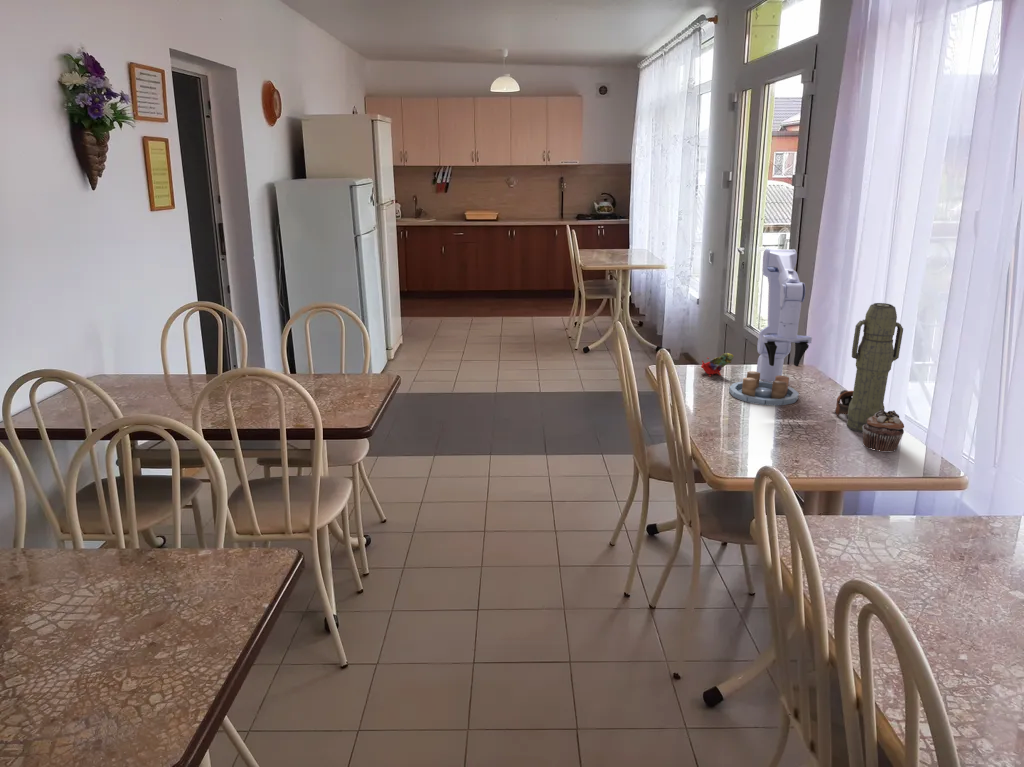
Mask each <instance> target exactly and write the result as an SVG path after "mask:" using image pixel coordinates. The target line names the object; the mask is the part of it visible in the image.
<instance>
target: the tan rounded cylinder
mask: <svg viewBox="0 0 1024 767" xmlns="http://www.w3.org/2000/svg"><path fill="white" fill-rule="evenodd" d="M746 378H754V379H756V380H757V382H756V388H758V387H759V381H761V379H760V373H759V372H757V371H753V370H750V371H747V372H746Z"/></svg>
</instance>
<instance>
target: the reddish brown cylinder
mask: <svg viewBox="0 0 1024 767" xmlns="http://www.w3.org/2000/svg"><path fill="white" fill-rule="evenodd" d="M775 381H783V382H786V383H787V384H786V392H785V396H787V391H788V387H789V381H790V377H789V376H786V375H782V376H776V377H775Z"/></svg>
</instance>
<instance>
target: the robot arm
mask: <svg viewBox="0 0 1024 767" xmlns="http://www.w3.org/2000/svg"><path fill="white" fill-rule="evenodd" d="M797 259H798V253H797V251H796V249H795V248H792V249H790V248H789V249H786V248H785V249H784V248H781V249H779V248H768V247H767V248H765V250H764V252H763V255H762V274H763V276H764V277H766V278H767V283H768V292H767V293H768V295H767V296H768V297H767V298H768V299H767V300H768V301H767V326H765V327H764V328H763V329H761V330H760V331H759V333H758V336H757V337H758V339H757V343H756V344H757V346H756V347H757V348H756V349H757V350H756V351H757V353H758V354H759V356H758V358H757V365H756V372H759V373H760V381H765V382H772V383H773V381H775V377H776V376H783V370H784V369H783V368H784V361H785V358H787V356H789V354H790V353H791V350H792V343H795V344H794V358H793V365H794V366H795V367H799V365H800V362H801V360H802V358H803V356H804V354H805V353H806V351H807V350H808V349H809V347H810V346H809V344H812V340H813V337H812V336H811V335H801V334H798V333H799V327H800V326H799V325H800V317H801V309H802V303H804V301H805V297H806V284H805V282H802V281H801V280H800V277H799V275H798V272H797V271H796V270H794V269H795V267H796V264H797V263H798V262H797Z"/></svg>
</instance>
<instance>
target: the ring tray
mask: <svg viewBox="0 0 1024 767" xmlns="http://www.w3.org/2000/svg"><path fill="white" fill-rule="evenodd" d="M772 384H773V382H769V381H764V380H760V381H759V387H758V388H756V390H755V397H752V396H748V395H746V394H743V393H742V385H743V380H742V381H737V382H733V383H732V384H731V385H730V386H729V389H728V393H729V394H730V395H731V396H732V397H733V398H735V399H738V400H740V401H743V402H746V403H751V404H756V405H762V406H785V405H786V406H787V405H791V404H795V403H796V402H797V400H798V399H799V395H800V394H799V391H797V390H796V389H794V388H793V387H791V386H788V391H787V396H785V398H782V399H771V392H772Z"/></svg>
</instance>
